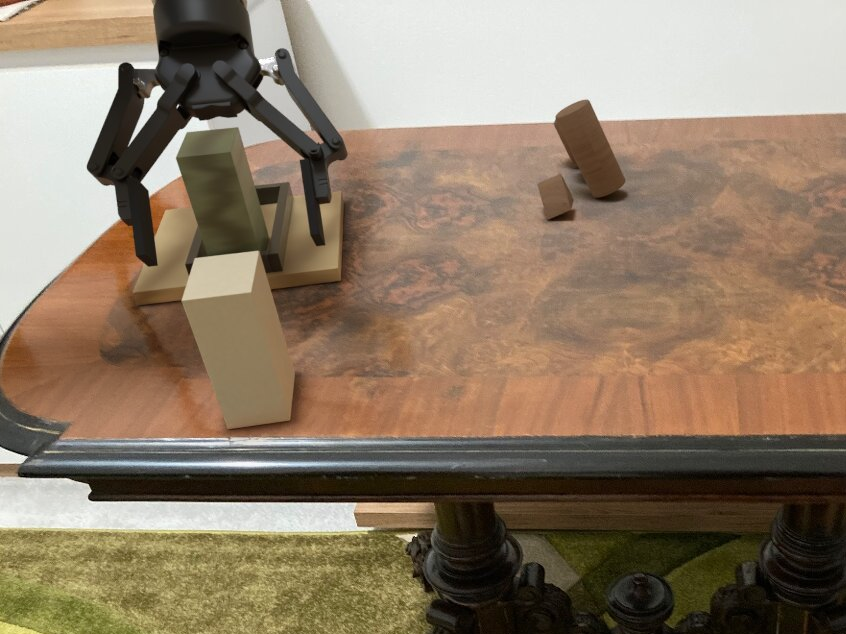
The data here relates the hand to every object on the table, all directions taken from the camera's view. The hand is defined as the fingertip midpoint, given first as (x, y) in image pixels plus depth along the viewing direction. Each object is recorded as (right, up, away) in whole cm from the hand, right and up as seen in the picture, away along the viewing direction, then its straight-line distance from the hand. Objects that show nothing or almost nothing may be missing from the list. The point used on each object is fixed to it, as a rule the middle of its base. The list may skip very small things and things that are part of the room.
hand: (233, 251), depth 75 cm
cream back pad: (+1, -12, +3) cm, 13 cm away
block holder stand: (-8, +6, +25) cm, 27 cm away
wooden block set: (+28, +15, +36) cm, 48 cm away
